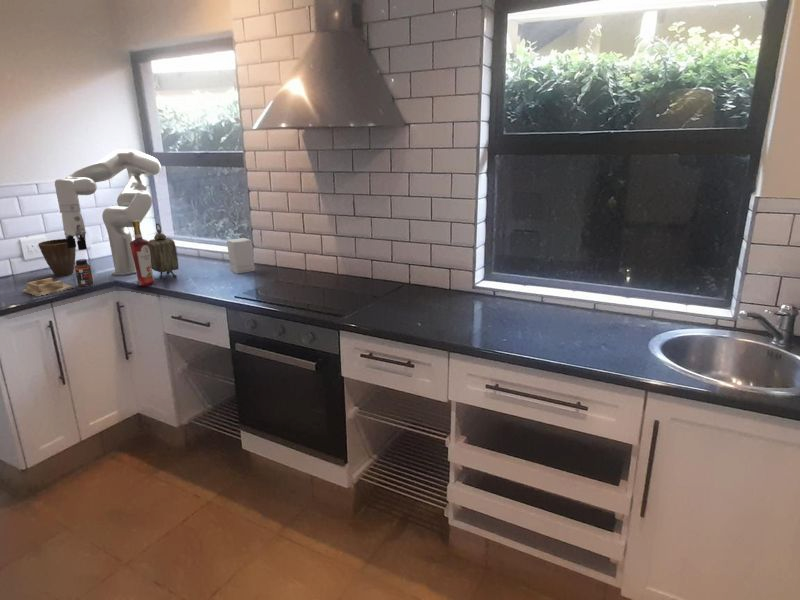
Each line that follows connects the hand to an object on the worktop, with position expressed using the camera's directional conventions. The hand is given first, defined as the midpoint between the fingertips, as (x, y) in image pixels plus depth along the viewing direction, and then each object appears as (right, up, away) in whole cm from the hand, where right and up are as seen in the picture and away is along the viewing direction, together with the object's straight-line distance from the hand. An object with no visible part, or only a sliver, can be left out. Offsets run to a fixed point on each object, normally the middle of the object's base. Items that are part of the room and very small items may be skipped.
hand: (77, 248), depth 229 cm
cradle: (-11, -18, -2) cm, 21 cm away
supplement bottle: (+1, -16, +5) cm, 17 cm away
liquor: (+29, -16, +2) cm, 33 cm away
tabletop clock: (+32, -12, +14) cm, 37 cm away
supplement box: (+65, -9, +23) cm, 69 cm away
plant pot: (-22, -10, +26) cm, 36 cm away
